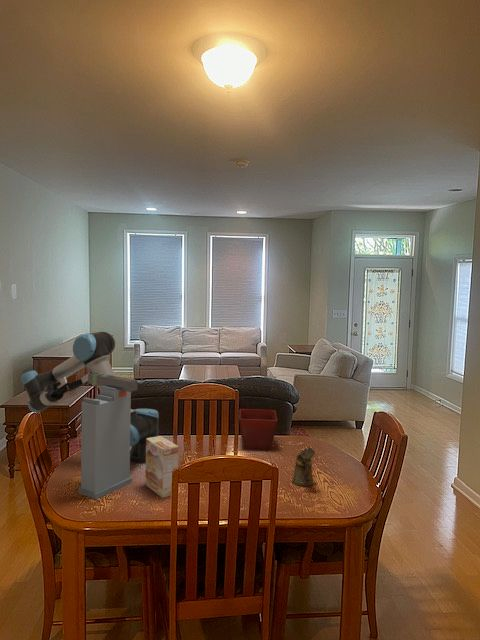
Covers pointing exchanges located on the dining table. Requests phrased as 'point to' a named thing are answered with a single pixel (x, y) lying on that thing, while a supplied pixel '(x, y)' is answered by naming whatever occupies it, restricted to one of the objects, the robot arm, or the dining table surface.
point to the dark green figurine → (303, 468)
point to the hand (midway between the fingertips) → (78, 377)
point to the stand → (105, 443)
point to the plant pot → (257, 428)
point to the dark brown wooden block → (112, 382)
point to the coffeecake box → (160, 464)
